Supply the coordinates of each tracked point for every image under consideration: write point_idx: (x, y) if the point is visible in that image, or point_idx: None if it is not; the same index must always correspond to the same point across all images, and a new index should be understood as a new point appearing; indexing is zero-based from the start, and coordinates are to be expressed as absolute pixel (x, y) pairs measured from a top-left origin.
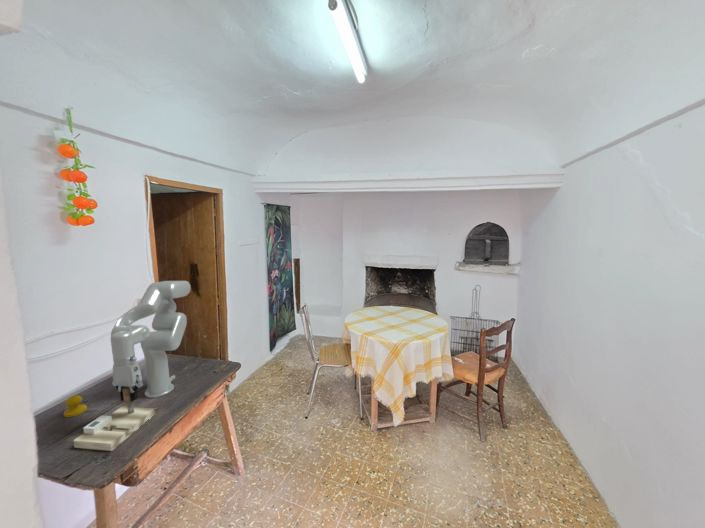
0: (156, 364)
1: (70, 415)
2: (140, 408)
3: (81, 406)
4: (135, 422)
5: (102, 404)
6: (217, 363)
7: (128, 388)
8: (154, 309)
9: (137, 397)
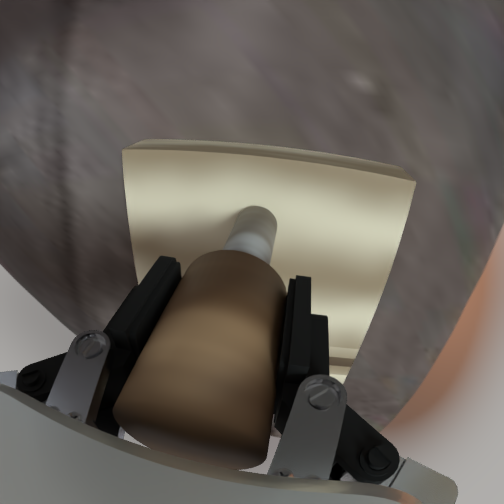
0: None
1: None
2: (297, 172)
3: None
4: (360, 320)
5: (7, 100)
6: None
7: (234, 465)
8: None
9: (310, 281)
